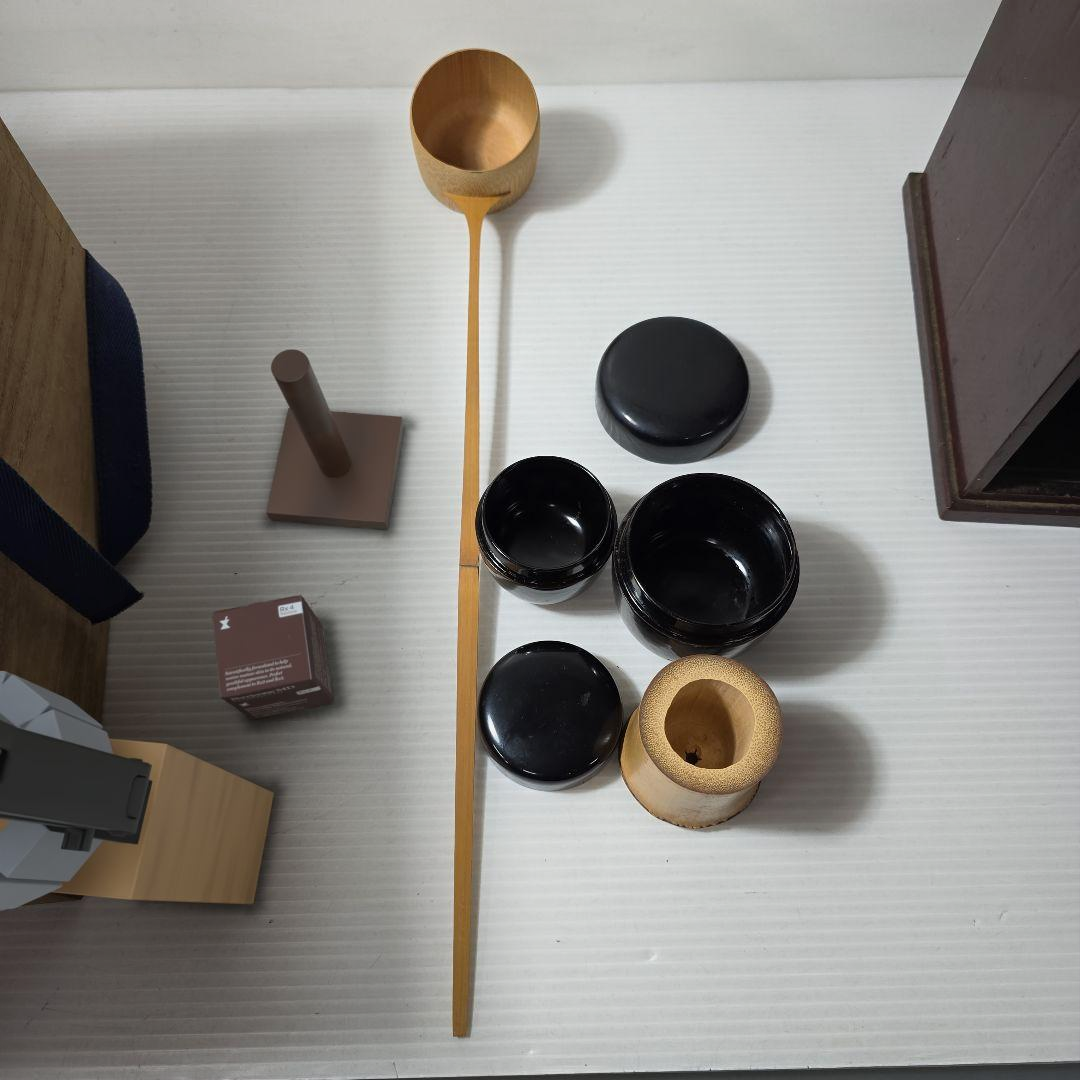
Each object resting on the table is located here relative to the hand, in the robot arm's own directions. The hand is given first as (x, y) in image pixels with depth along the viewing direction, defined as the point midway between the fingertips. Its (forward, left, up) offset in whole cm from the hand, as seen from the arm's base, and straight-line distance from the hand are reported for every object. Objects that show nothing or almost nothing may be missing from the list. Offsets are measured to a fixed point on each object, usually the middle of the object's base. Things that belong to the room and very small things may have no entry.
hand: (30, 801), depth 42 cm
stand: (0, 0, -24) cm, 24 cm away
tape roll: (0, 0, +2) cm, 2 cm away
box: (+3, +12, -24) cm, 27 cm away
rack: (+4, +28, -24) cm, 37 cm away
